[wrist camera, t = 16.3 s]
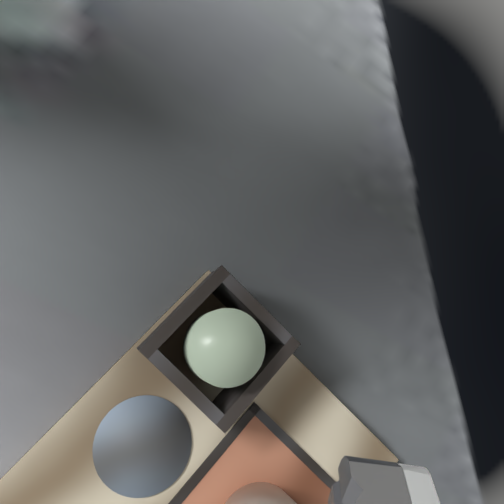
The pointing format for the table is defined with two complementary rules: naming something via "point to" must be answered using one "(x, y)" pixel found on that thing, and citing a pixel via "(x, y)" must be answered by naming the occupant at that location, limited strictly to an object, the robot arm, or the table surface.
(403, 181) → the table surface
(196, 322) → the button
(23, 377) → the table surface
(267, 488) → the marker
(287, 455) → the picture board
